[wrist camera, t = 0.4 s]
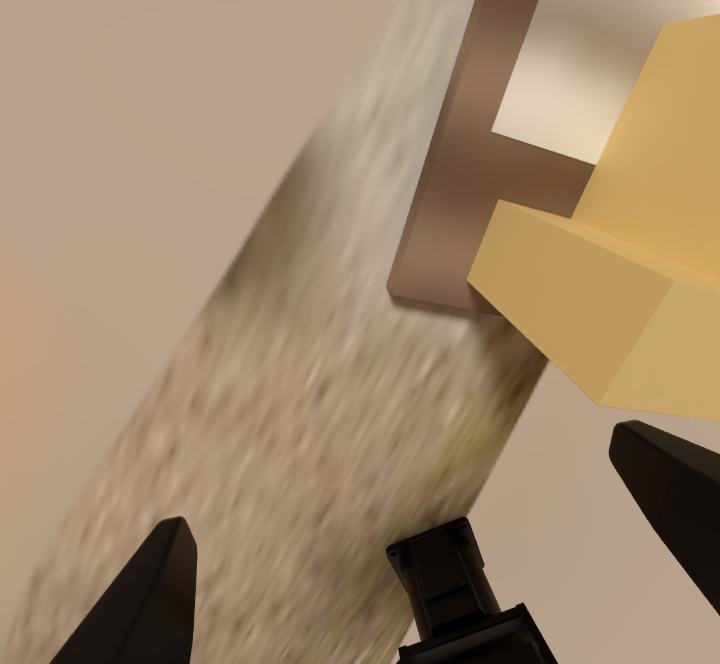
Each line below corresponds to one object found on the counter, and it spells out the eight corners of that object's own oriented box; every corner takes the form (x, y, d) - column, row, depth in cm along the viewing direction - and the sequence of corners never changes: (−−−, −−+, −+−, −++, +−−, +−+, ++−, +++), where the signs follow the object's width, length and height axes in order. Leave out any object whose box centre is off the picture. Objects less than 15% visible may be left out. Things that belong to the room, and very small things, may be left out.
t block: (652, 319, 25) (857, 439, 16) (466, 279, 21) (597, 405, 13) (797, 85, 20) (1212, 77, 11) (582, -13, 16) (932, -136, 8)
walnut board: (667, 340, 27) (684, 350, 26) (386, 285, 22) (391, 295, 21) (1024, -214, 17) (1076, -235, 16) (649, -563, 12) (688, -632, 11)
